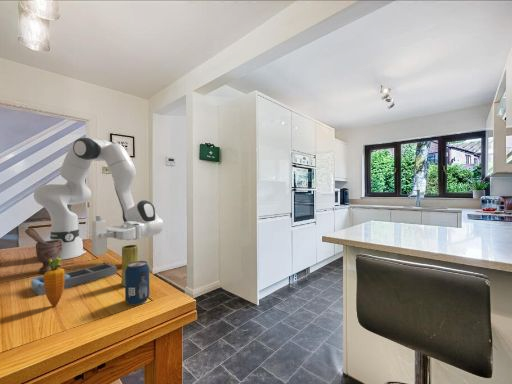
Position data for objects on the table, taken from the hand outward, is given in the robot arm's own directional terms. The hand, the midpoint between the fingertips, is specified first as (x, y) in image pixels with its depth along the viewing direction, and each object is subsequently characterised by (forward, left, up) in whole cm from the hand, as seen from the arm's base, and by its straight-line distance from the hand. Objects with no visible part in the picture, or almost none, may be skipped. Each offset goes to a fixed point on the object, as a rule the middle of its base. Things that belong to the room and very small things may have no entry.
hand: (97, 235), depth 97 cm
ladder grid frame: (0, -7, -17) cm, 18 cm away
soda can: (+36, -3, -17) cm, 40 cm away
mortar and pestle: (-24, -11, -17) cm, 31 cm away
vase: (+20, +3, -17) cm, 27 cm away
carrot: (+18, -19, -17) cm, 31 cm away
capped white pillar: (0, +1, -8) cm, 8 cm away
